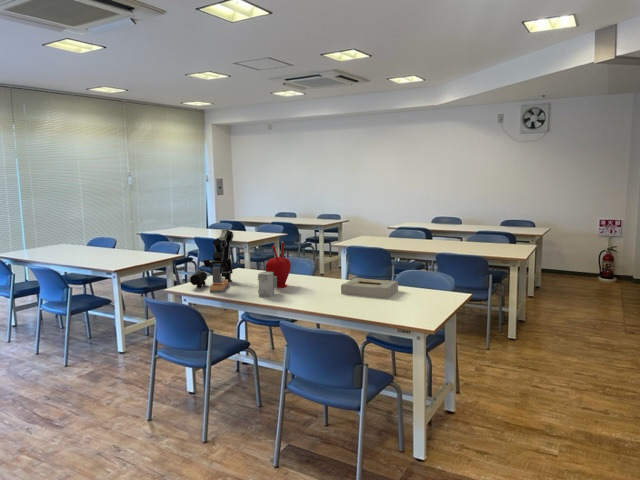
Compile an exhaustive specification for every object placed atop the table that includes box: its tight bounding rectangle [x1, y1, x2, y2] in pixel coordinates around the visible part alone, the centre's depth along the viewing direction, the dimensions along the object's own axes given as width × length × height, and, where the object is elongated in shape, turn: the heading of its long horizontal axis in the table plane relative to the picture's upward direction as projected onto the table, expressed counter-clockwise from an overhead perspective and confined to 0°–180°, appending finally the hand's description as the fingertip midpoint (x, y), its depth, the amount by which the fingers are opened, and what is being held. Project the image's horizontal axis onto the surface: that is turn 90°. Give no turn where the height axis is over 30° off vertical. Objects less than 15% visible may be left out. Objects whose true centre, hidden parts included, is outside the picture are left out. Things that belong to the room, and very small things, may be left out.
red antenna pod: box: [264, 242, 292, 289], centre depth 326 cm, size 21×13×30 cm, turn 160°
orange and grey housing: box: [209, 277, 230, 294], centre depth 323 cm, size 21×9×7 cm, turn 0°
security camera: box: [189, 270, 208, 289], centre depth 331 cm, size 7×18×10 cm, turn 174°
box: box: [340, 277, 399, 300], centre depth 305 cm, size 23×8×32 cm
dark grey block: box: [211, 266, 222, 283], centre depth 316 cm, size 5×5×10 cm
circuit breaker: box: [257, 271, 278, 298], centre depth 304 cm, size 8×14×15 cm, turn 161°
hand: (216, 273), depth 315 cm, fingers closed on dark grey block, 5 cm apart
